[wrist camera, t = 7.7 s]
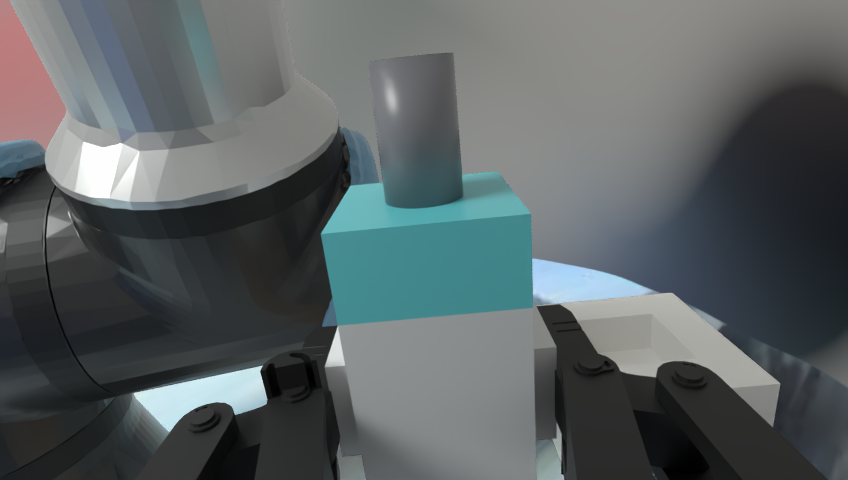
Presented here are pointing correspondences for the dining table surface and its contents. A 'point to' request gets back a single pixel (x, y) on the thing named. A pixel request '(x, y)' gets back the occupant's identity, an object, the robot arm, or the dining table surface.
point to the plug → (434, 294)
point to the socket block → (670, 345)
